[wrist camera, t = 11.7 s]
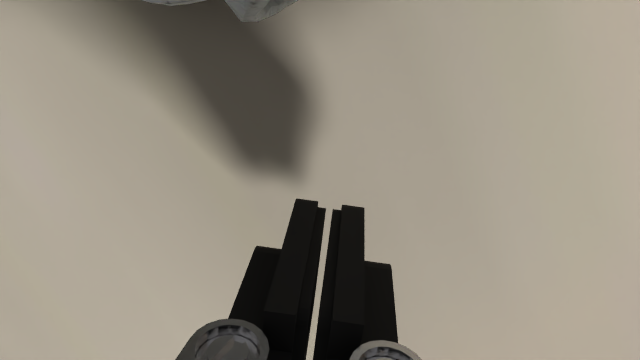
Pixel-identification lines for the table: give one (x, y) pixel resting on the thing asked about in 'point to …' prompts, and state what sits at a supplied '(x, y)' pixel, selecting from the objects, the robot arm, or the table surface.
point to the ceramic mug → (241, 7)
